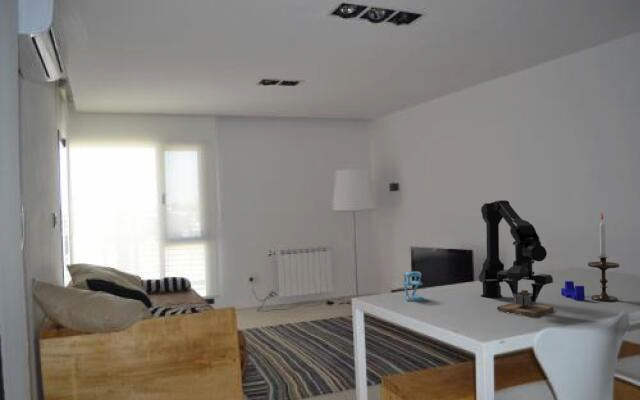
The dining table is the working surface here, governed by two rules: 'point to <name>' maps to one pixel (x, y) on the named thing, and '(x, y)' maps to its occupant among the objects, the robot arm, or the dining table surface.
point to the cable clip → (573, 291)
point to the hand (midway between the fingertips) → (524, 300)
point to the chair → (410, 283)
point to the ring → (523, 299)
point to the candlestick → (603, 267)
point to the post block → (525, 308)
